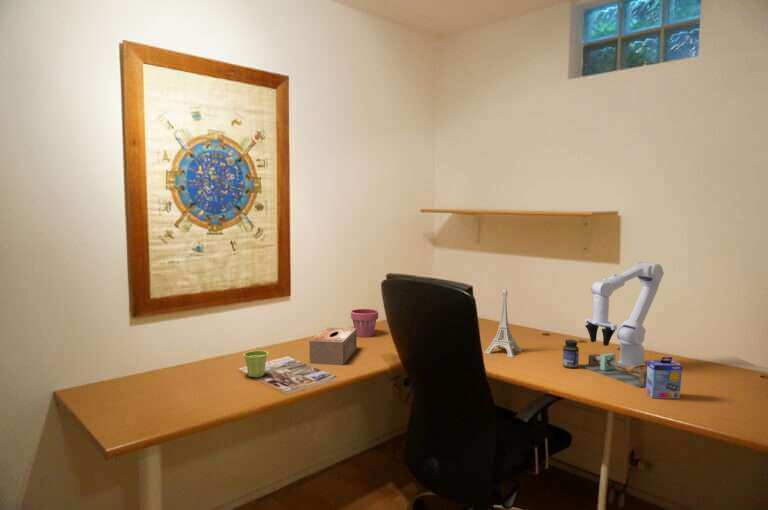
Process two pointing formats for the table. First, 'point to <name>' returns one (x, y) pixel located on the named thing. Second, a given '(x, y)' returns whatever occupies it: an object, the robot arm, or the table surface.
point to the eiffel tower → (507, 339)
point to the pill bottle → (570, 354)
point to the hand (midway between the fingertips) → (599, 343)
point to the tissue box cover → (333, 346)
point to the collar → (604, 361)
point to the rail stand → (618, 371)
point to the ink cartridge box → (663, 378)
